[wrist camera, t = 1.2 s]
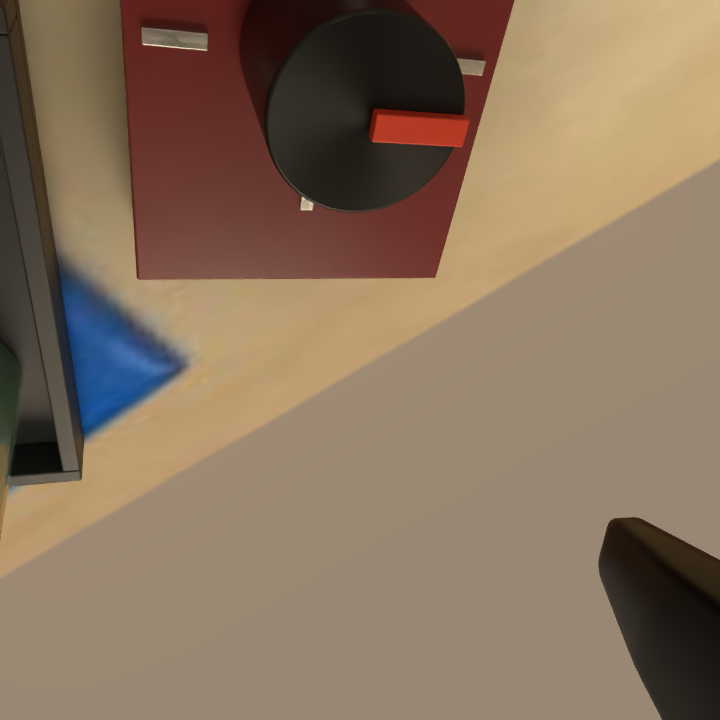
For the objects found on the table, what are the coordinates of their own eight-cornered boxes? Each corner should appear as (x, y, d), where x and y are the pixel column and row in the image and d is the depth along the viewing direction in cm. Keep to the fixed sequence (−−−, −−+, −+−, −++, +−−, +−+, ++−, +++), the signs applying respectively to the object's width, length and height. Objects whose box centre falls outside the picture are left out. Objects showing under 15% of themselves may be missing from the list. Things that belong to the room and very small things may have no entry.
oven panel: (100, -393, 12) (94, -421, 10) (529, -278, 15) (599, -280, 13) (136, 224, 21) (137, 283, 18) (407, 229, 23) (437, 281, 21)
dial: (235, 129, 16) (259, 219, 13) (243, -58, 14) (276, 0, 11) (389, 138, 18) (443, 223, 15) (423, -33, 15) (498, 26, 12)
